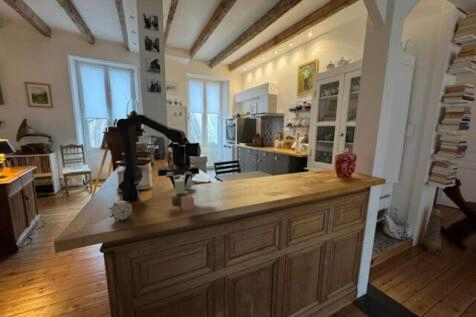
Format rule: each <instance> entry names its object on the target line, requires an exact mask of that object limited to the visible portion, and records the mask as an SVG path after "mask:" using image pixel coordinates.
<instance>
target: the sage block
mask: <svg viewBox="0 0 476 317" xmlns="http://www.w3.org/2000/svg"><path fill="white" fill-rule="evenodd" d="M174 182H175V189H174V192H182V191H186V190H185V182H184V179H179V178H178V179H177V178H176V179H175V178H174Z"/></svg>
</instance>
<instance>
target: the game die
mask: <svg viewBox="0 0 476 317" xmlns="http://www.w3.org/2000/svg"><path fill="white" fill-rule="evenodd" d="M133 206H134V203H130V201H123V199H122V197H120V198H119V201H118V202H116V203H115V202H113V206H112V207H108V209H109V210H110V212H111V215H110V216H109V218H112V217H113V218H114V220H120V221H122V223H125V220H126V219H127V218H128V217H131V216H130V215H132V213H136V211H135V210H133Z"/></svg>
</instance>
